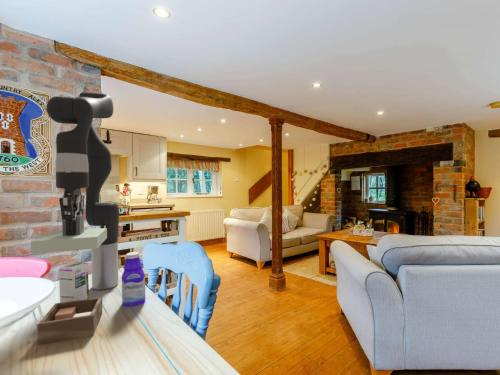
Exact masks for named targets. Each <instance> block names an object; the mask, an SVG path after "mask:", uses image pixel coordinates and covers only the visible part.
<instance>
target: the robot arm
mask: <svg viewBox="0 0 500 375" xmlns="http://www.w3.org/2000/svg"><path fill="white" fill-rule="evenodd" d="M45 108H46V113H47V114H48V116H49V118H50V119H51V120H52V121H54V122H56V123H57V124H63V125H64V124H67V125H76V126H75V127H74V128H73V129H70V130H66V131H60V132H58V133H57V134H56V136H55V142H56V143H55V144H56V154H55V155H56V156H55V188H56V189H63V191H64V192H63V195H62V197H59V199H58V200H59V201H58V202H59V205H60V206H59V208H60V215H61V220H64V221H66V235H75V234H76V215H85V219H86V222H87V224H88V225H89V226H91V227H105V228H107V238H106V239H105V241H104V242H103V243H102V244H101V245H100V246H99V247H98V248H96V249H90V251H91V288H92V289H93V290H95V291H97V290H98V291H100V290H101V291H102V290H108V289H113V288H115V287H116V286H118V285H119V249H118V248H119V246H118V245H119V243H118V241H119V239H118V237H119V228H120V227H119V226H120V224H119V223H120V222H119V221H120V210H119V206H118V204H117V203H115V202H100V194H101V189H102V188H103V186H104V184H105V182H106V181H107V179H108V177H109V176H110V174H111V172H112V167H113V166H112V165H113V164H112V152H111V151H110V149H109V148H108V146H107V145H106V144H105V142H104V141H103V139H102V138H101V137H100V135H99V133H97V130H96V129H95V127H94V125H93V121H94V119H110V118H111V117H113V115H114V114H113V113H114V103H113V99H112V97H111V96H110V95H109V94H106V93H103V92H102V93H101V92H100V93H99V92H86V91H85V92H84V91H82V92H80V93H79V95H78V96H75V97H70V96H69V97H68V96H59V95H57V96H53V97H51V98H50V99H49V100H48V101H47V103H46V107H45ZM82 189H85V195H84V194H82ZM84 207H85V208H84ZM84 209H85V213H84Z"/></svg>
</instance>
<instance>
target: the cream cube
mask: <svg viewBox="0 0 500 375" xmlns="http://www.w3.org/2000/svg"><path fill="white" fill-rule="evenodd" d="M91 313H92V312H85V313H79V314H75V315H74V317H79V316H86V315H91Z"/></svg>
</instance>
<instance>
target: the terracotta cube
mask: <svg viewBox="0 0 500 375" xmlns="http://www.w3.org/2000/svg"><path fill="white" fill-rule="evenodd" d="M75 314H76V307H70V308H63V309H59V311H58V312H57V313H56V315H55V320H60V319H67V318H73V317H74V315H75Z"/></svg>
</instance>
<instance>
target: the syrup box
mask: <svg viewBox="0 0 500 375" xmlns="http://www.w3.org/2000/svg"><path fill="white" fill-rule="evenodd" d="M88 264H89V263H88V262H84V261H83V262H82V261H77V262H75V261H74V262H71V263H69V264H66V265H63V266H60V267H59V268H58V280H59V283H58V285H59V303H62V302H70V301H77V300H84V299H90V290H89V288H90V286H89V265H88Z"/></svg>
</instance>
